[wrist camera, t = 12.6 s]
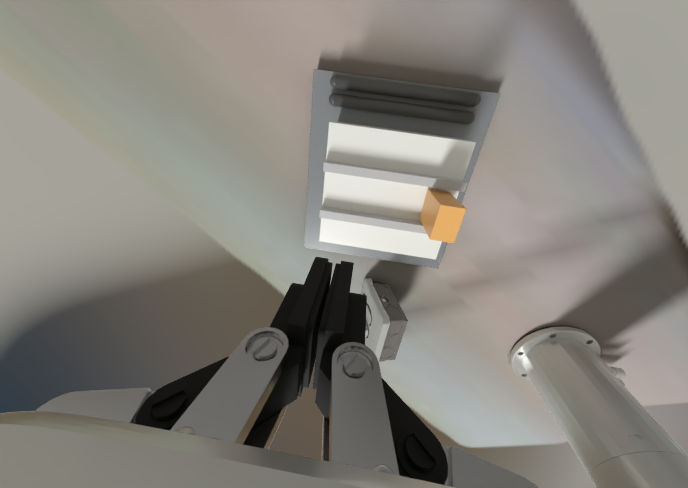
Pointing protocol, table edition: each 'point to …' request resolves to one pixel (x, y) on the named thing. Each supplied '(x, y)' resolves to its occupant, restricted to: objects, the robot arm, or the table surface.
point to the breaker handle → (441, 215)
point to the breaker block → (387, 162)
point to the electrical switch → (383, 320)
